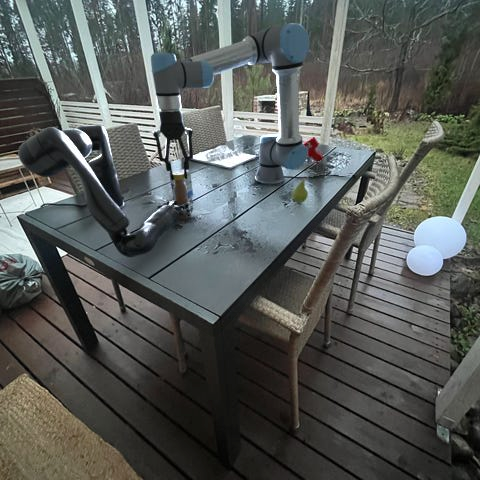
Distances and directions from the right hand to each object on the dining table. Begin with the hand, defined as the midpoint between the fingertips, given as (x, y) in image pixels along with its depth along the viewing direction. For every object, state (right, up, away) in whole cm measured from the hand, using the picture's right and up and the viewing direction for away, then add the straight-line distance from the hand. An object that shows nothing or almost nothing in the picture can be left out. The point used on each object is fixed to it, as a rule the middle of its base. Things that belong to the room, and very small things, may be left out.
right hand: (179, 178), depth 102 cm
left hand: (+1, -7, +8) cm, 10 cm away
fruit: (+50, -6, +20) cm, 54 cm away
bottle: (0, -14, +9) cm, 16 cm away
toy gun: (+64, +27, +71) cm, 99 cm away
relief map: (+11, +31, +78) cm, 84 cm away
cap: (0, +1, -1) cm, 2 cm away
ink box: (-4, -3, +26) cm, 26 cm away
